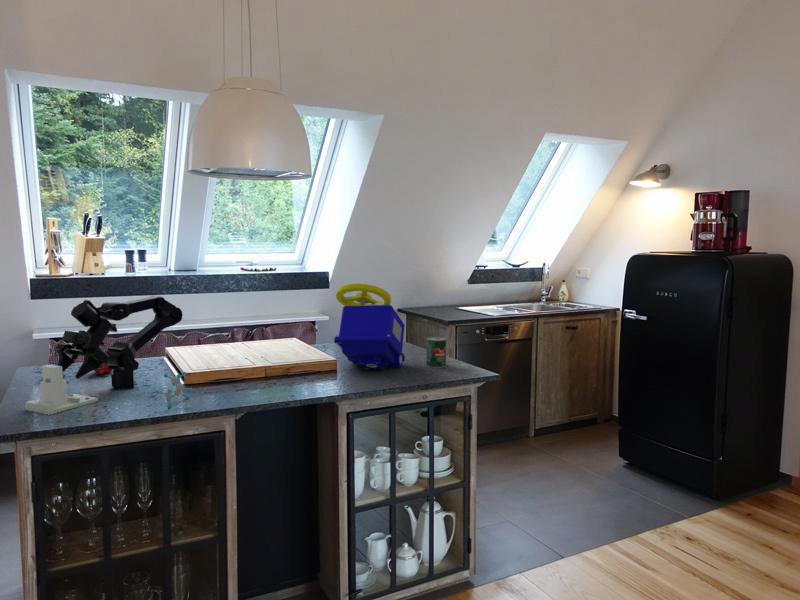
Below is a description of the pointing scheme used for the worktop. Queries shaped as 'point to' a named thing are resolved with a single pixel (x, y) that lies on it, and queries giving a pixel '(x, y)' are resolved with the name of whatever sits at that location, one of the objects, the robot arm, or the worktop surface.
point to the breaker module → (53, 385)
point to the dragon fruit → (102, 369)
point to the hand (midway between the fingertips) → (66, 376)
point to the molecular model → (177, 391)
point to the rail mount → (49, 408)
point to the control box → (370, 328)
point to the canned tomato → (436, 352)
